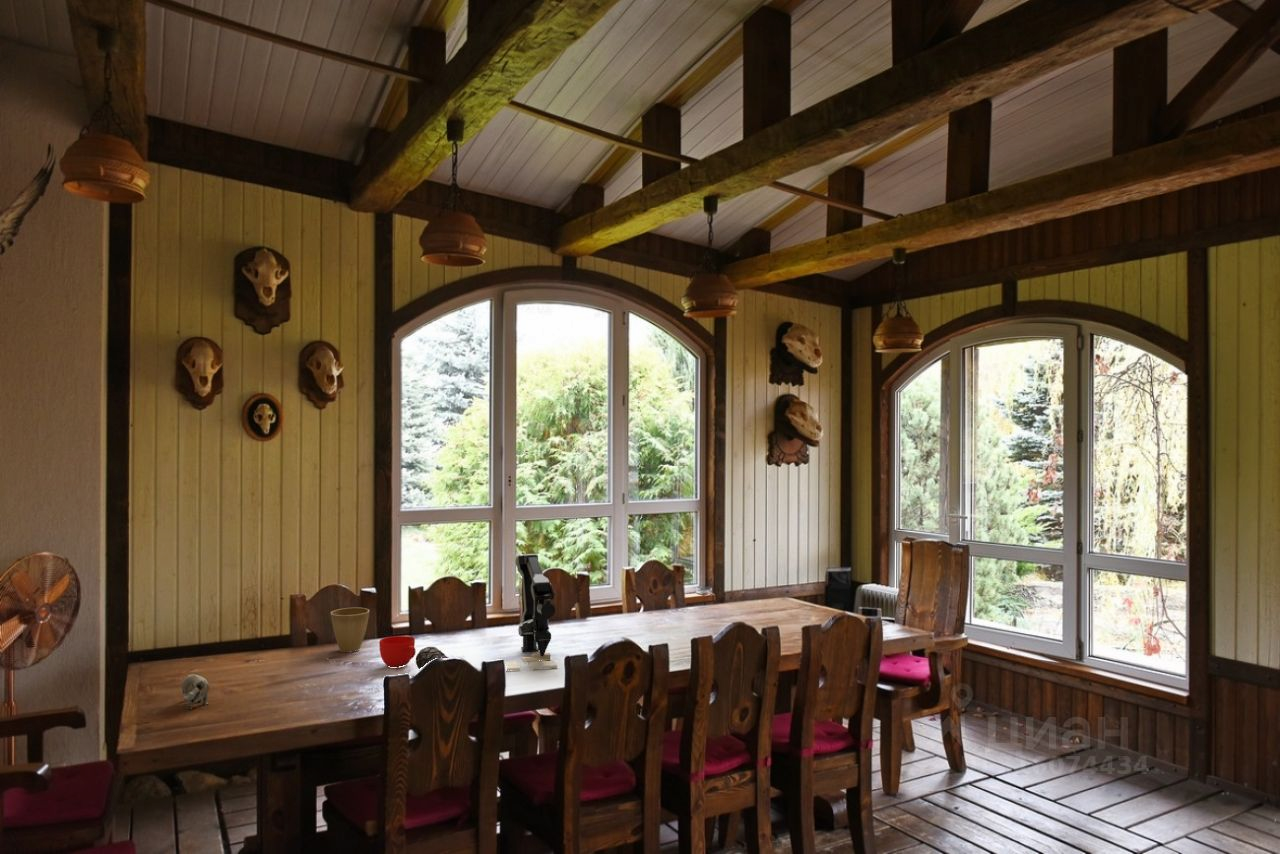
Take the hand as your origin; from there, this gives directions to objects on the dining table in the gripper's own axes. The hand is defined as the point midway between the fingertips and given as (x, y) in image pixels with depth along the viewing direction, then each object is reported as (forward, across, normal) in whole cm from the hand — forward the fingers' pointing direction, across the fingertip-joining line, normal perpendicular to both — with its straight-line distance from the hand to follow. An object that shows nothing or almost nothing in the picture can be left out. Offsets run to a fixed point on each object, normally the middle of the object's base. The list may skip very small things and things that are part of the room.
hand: (540, 653), depth 323 cm
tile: (+2, +6, -13) cm, 14 cm away
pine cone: (+3, +15, -39) cm, 42 cm away
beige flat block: (+3, 0, -2) cm, 3 cm away
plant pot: (+3, -30, -75) cm, 81 cm away
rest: (+3, +10, 0) cm, 10 cm away
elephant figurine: (+3, +36, -114) cm, 119 cm away
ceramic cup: (+3, 0, -53) cm, 53 cm away
